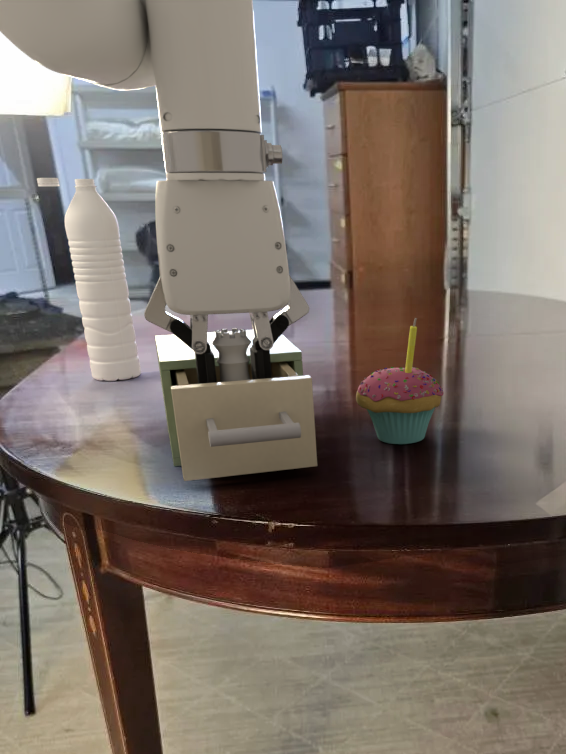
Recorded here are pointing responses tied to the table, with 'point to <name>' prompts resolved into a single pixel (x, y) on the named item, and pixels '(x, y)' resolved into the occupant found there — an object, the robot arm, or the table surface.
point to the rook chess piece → (232, 354)
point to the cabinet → (183, 357)
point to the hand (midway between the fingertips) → (236, 393)
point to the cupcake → (400, 399)
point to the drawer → (244, 423)
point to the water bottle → (100, 283)
